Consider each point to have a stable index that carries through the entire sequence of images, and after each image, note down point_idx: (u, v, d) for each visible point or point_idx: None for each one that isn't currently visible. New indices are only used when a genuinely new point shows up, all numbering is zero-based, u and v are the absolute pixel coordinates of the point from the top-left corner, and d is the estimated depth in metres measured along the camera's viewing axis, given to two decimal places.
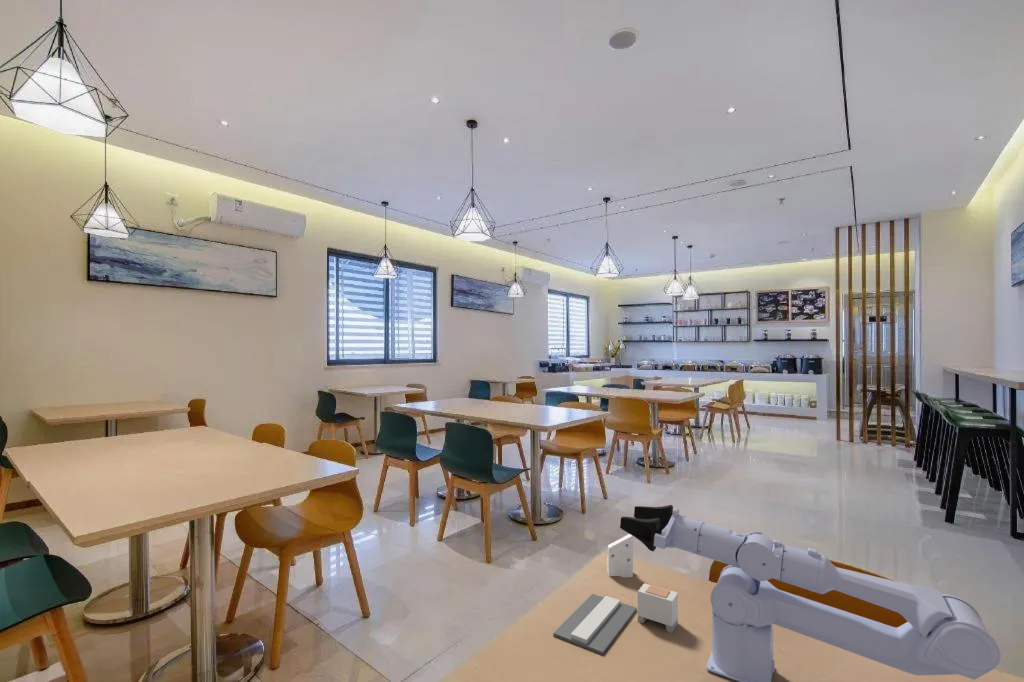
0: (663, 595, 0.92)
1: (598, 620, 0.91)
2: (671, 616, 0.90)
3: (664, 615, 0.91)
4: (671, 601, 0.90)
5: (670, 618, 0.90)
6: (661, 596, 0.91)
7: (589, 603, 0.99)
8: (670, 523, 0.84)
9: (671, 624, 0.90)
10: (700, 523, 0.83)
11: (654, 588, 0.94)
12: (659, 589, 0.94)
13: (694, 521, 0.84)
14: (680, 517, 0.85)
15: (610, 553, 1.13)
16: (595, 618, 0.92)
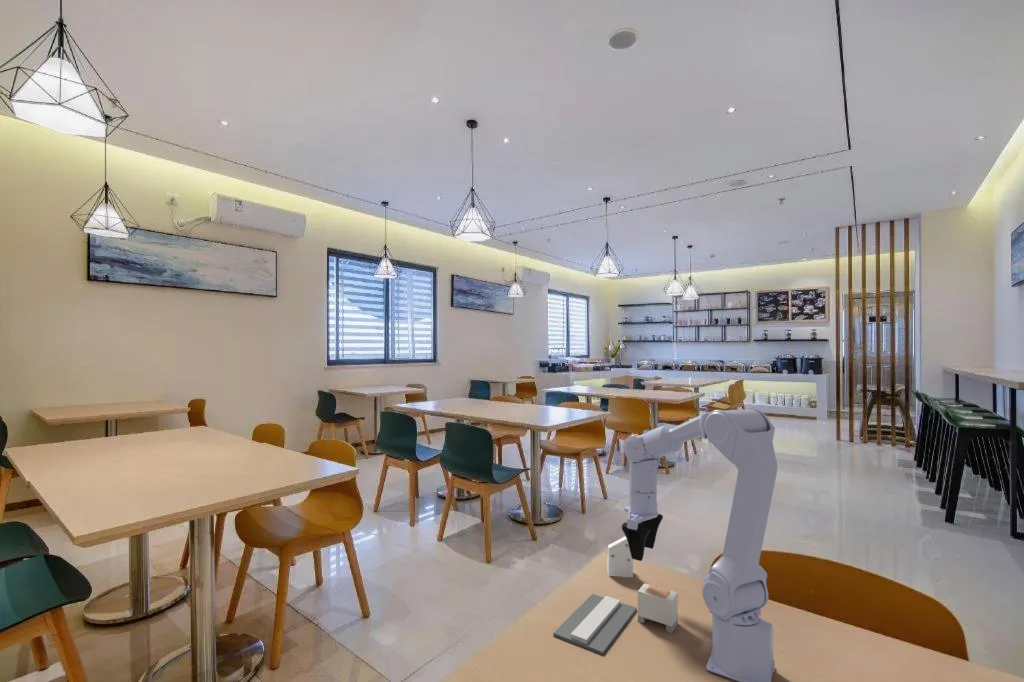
0: (663, 595, 0.92)
1: (598, 620, 0.91)
2: (671, 616, 0.90)
3: (664, 615, 0.91)
4: (671, 601, 0.90)
5: (670, 618, 0.90)
6: (661, 596, 0.91)
7: (589, 603, 0.99)
8: None
9: (671, 624, 0.90)
10: None
11: (654, 588, 0.94)
12: (658, 589, 0.94)
13: None
14: None
15: (610, 553, 1.13)
16: (595, 618, 0.92)
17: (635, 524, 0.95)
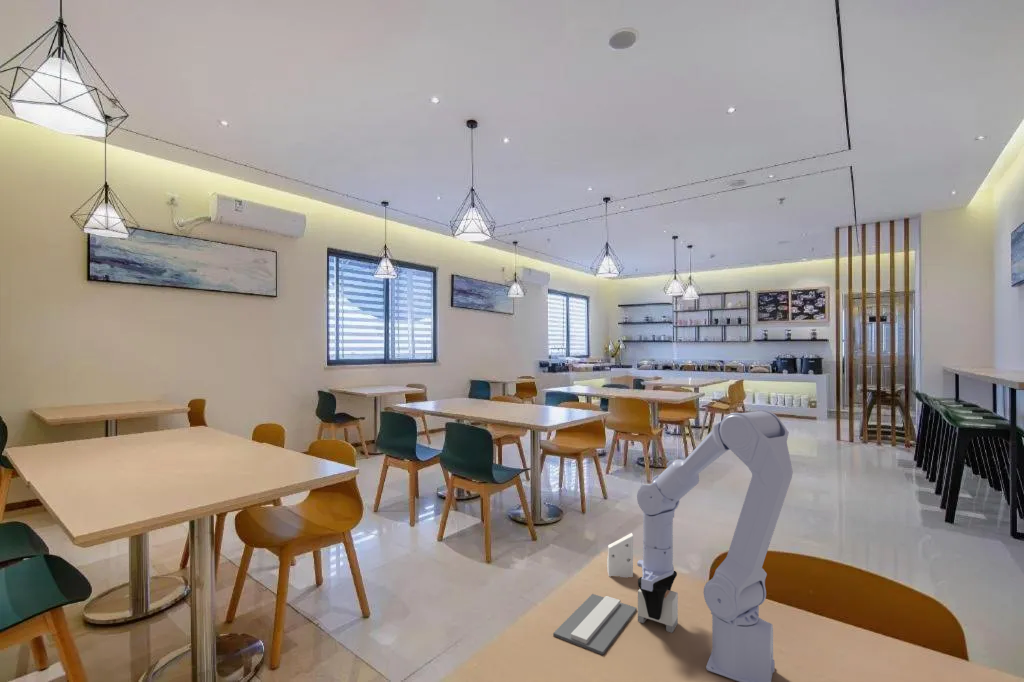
0: None
1: (598, 620, 0.91)
2: (671, 616, 0.90)
3: (664, 615, 0.91)
4: (671, 601, 0.90)
5: (670, 618, 0.90)
6: None
7: (589, 603, 0.99)
8: (642, 570, 0.92)
9: (671, 624, 0.90)
10: None
11: None
12: None
13: None
14: None
15: (610, 553, 1.13)
16: (595, 618, 0.92)
17: (650, 585, 0.87)
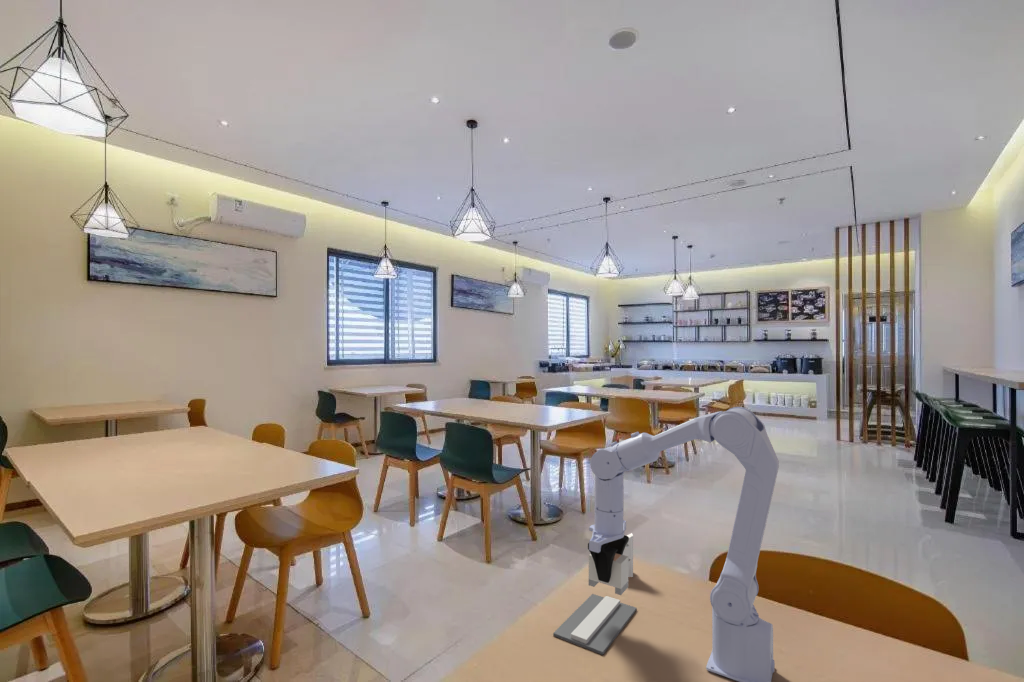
0: None
1: (598, 620, 0.91)
2: (620, 578, 0.90)
3: (613, 578, 0.91)
4: (620, 563, 0.90)
5: (619, 580, 0.90)
6: None
7: (589, 603, 0.99)
8: None
9: (620, 586, 0.90)
10: None
11: None
12: None
13: None
14: None
15: None
16: (595, 618, 0.92)
17: (597, 546, 0.87)
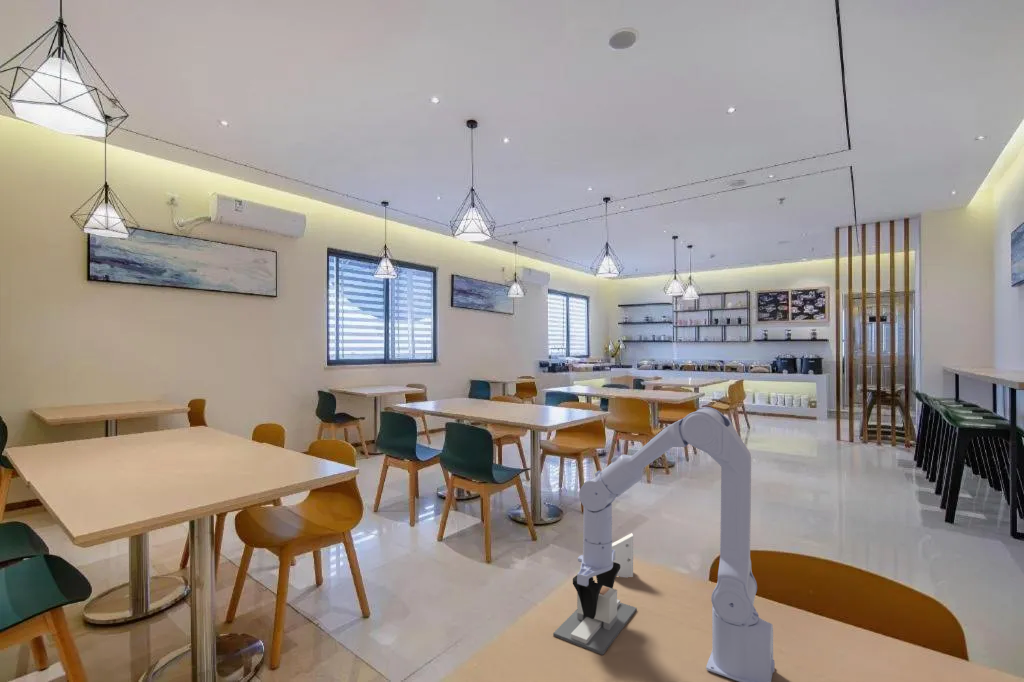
0: (601, 592, 0.91)
1: (598, 620, 0.91)
2: (608, 613, 0.90)
3: (601, 612, 0.90)
4: (608, 598, 0.90)
5: (607, 615, 0.90)
6: (599, 593, 0.91)
7: None
8: (581, 565, 0.92)
9: (608, 621, 0.90)
10: None
11: None
12: None
13: None
14: None
15: None
16: None
17: (585, 580, 0.87)
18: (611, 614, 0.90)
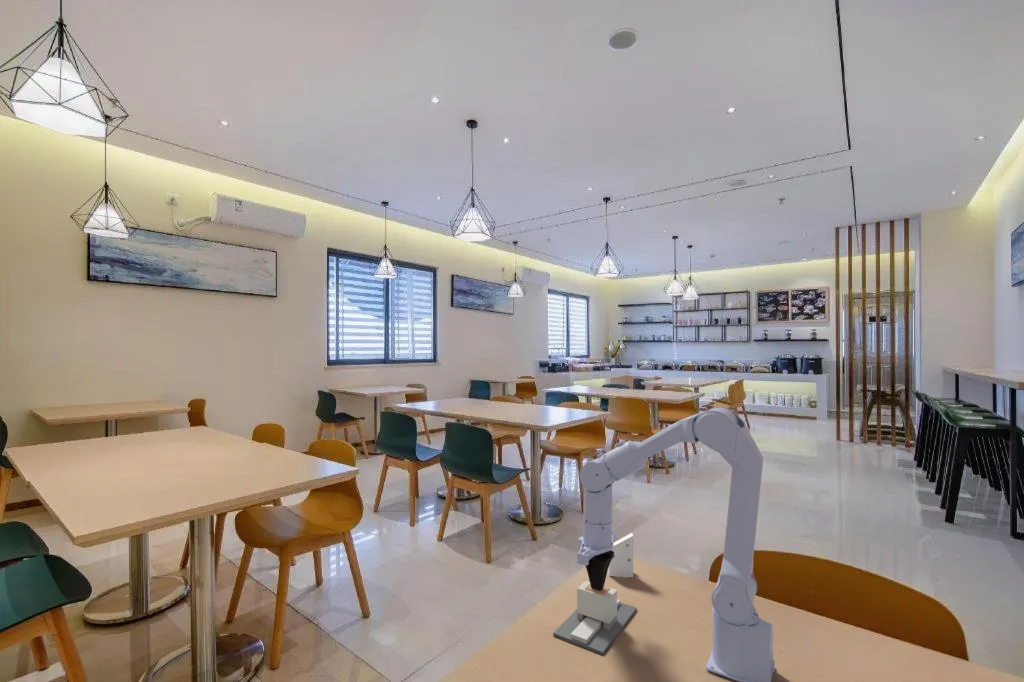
0: (601, 592, 0.91)
1: (598, 620, 0.91)
2: (608, 613, 0.90)
3: (601, 612, 0.90)
4: (608, 598, 0.90)
5: (607, 615, 0.90)
6: (599, 593, 0.91)
7: None
8: (581, 546, 0.92)
9: (608, 621, 0.90)
10: None
11: None
12: None
13: None
14: None
15: None
16: None
17: (585, 559, 0.87)
18: (611, 614, 0.90)
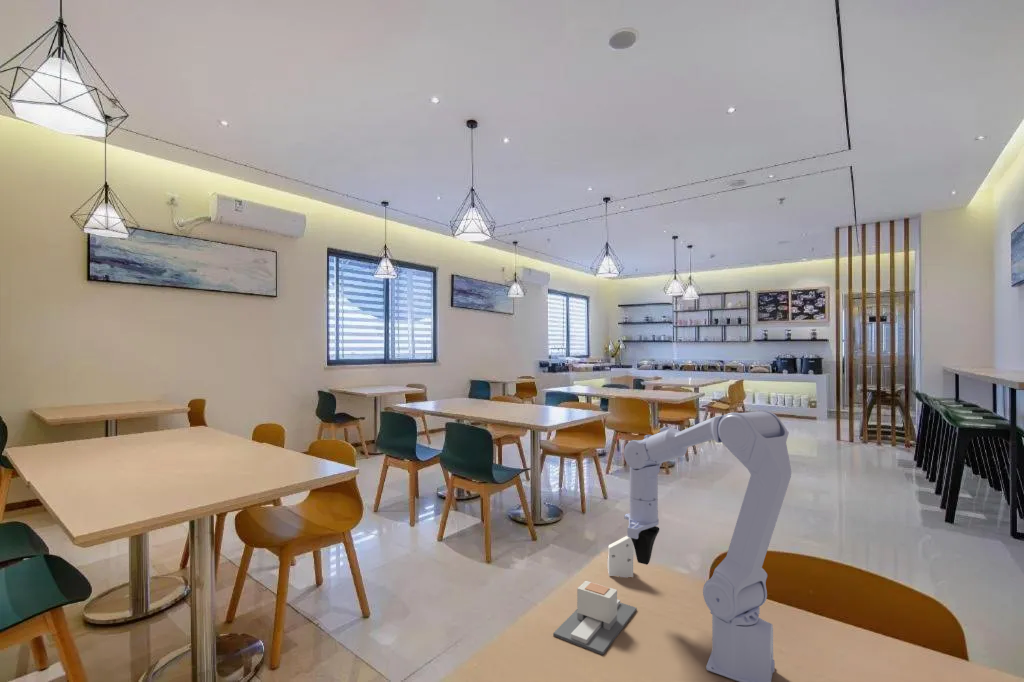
0: (601, 592, 0.91)
1: (598, 620, 0.91)
2: (608, 613, 0.90)
3: (601, 612, 0.90)
4: (608, 598, 0.90)
5: (607, 615, 0.90)
6: (599, 593, 0.91)
7: None
8: None
9: (608, 621, 0.90)
10: (630, 496, 0.99)
11: (594, 585, 0.94)
12: (598, 586, 0.94)
13: None
14: None
15: (611, 553, 1.13)
16: None
17: (636, 533, 0.92)
18: (611, 614, 0.90)
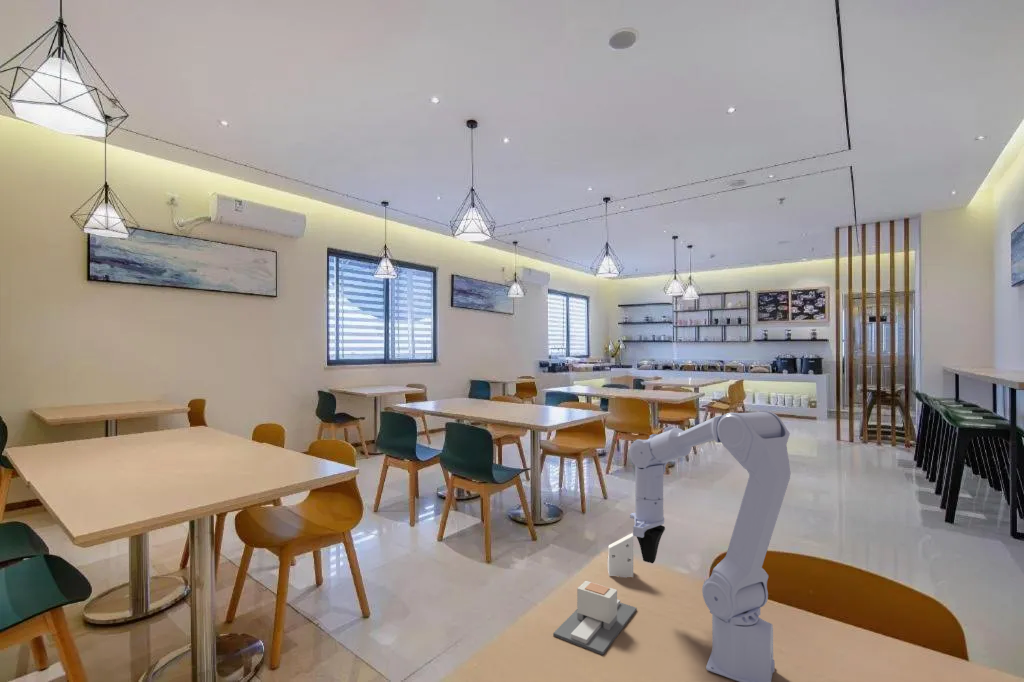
0: (601, 592, 0.91)
1: (598, 620, 0.91)
2: (608, 613, 0.90)
3: (601, 612, 0.90)
4: (608, 598, 0.90)
5: (607, 615, 0.90)
6: (599, 593, 0.91)
7: None
8: None
9: (608, 621, 0.90)
10: None
11: (594, 585, 0.94)
12: (598, 586, 0.94)
13: None
14: None
15: (611, 553, 1.13)
16: None
17: (641, 532, 0.92)
18: (611, 614, 0.90)
